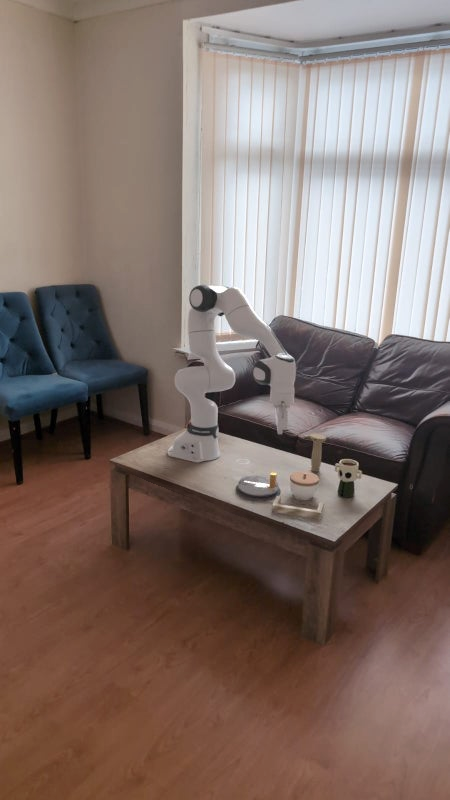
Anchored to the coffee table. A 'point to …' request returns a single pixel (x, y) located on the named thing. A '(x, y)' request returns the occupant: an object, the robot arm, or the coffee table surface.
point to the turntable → (258, 486)
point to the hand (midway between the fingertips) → (279, 432)
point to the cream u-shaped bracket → (297, 510)
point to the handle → (316, 451)
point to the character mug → (347, 476)
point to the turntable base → (257, 498)
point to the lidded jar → (304, 485)
